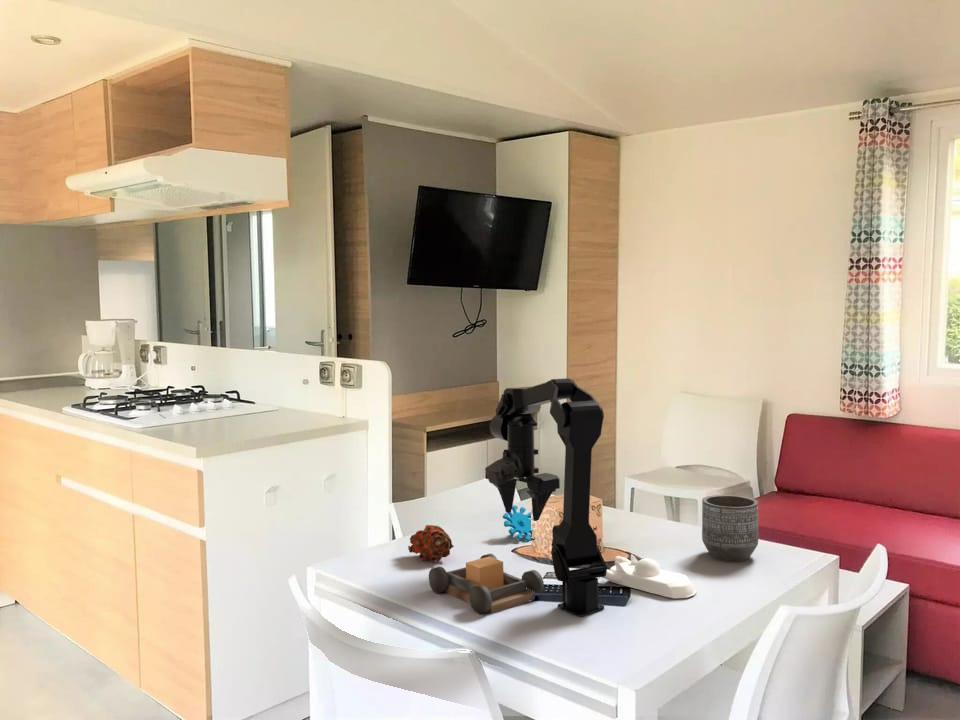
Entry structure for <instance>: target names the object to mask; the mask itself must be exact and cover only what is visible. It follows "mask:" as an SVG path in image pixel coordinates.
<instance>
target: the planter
mask: <svg viewBox="0 0 960 720" xmlns="http://www.w3.org/2000/svg"><path fill="white" fill-rule="evenodd" d="M701 501H702V505H701V506H702V510H701V513H702V516H701V519H702V521H701V522H702V523H701V524H702V526H701V527H702V528H701V539H702V542H703V544H704V546H705V549H706V550H707V551H708V553H709V554H710V556H711V557H712V558H713V559H716V560H718V561H723V562H730V563H739V562H745V561H747V560H749V559H750V557H751V556H752V554H753V553H754V552H755V550H756V548H757V546H758V544H759V501H758V500H757V499H754V498H751V497H748V496H744V495H735V494H714V495H713V494H712V495H707V496H705V497H703V498H702V500H701Z"/></svg>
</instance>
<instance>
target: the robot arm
mask: <svg viewBox="0 0 960 720" xmlns="http://www.w3.org/2000/svg"><path fill="white" fill-rule="evenodd" d="M568 399H569V400H570V401H565V402H562V403H561V402H560V400H568ZM546 404H550V408H549V414H550V416H551V418H552V419H553V420H554V422H555V423H556V426H557V427H556V429H557V434H558V436H559V438H560V439H561V441H562V442H563V444H564V447H565V452H564V456H565V457H564V482H563V484H564V485H563V506H562V507H563V511H562V513H563V514H562V520H561V522H560V524H558V525H557V524H554V525H553V527H552V529H551V530H552V531H551V536H552V538H551V540H552V541H551V545H550V546H551V549H550V555H551V559H552V560H551V561H552V565H553V570H554V571H553V572H554V576H555V577H556V580H557V581H558V582H561V583H562V591H561V592H562V593H561V594H562V602H561V603H558V604H557V608H558V609H561V610H563V611H566V612H567V613H570V614H573V615H575V616H577V617H584V616H586V615H590V614H593V613H595V612H598V611H601V610H604V609H605V605H603V604H600V603H599V578H600V577H605V576H606V572H607V569H608V566H607V564H606V562H605V560H604V558H603V555H602V552H601V551H600V550H601V549H600V547H599V546H598V537H597V534H596V533H595V531H594V529H593V527H592V526H591V524H590V508H591V507H590V505H591V504H590V503H591V502H590V500H591V481H592V480H591V479H592V453H593V448H594V447H595V445H596V443H597V442H598V440H599V439H600V437H601V435H602V430H603V423H604V417H605V416H604V415H605V413H604V410H603V408H602V407H601V404H600V403H599V402H598V401H597V400H596V397H594V396H593V394H591V392H590V393H589V392H587V391H586V390H584V389H583V388H581V387H580V386H578V384H577V383H576V382H575V381H574V380H573V379H570V378H568V377H566V378H552V379H550V380H547V381H546V382H543V383H540V384H536V385H533V386H522V387H521V386H519V387H506V388H504V391H503V393H502V394H501V395H500V399H499V402H498V405H497V406H496V409H495V415H494V416H493V417H492V419H491V420H490V423H489V431H490V434H491V435H492V436H494V437H495V438H497V439H500V440H503V441H505V442H507V449H503V452H502V458H500V459H498V460H496V461H494V462H493V463H491V464H489V465H488V466H486V467H485V468H484V470H485V479H486V480H488V482H489V483H490V484H492V485H493V486H494V487H495V488H496V489H497V491H498V492H499V494H500V498H501V500H502V504H503V506H504V509H505V510H506V511H505V510H504V511H505V513H506V512H507V514H508V513H509V512H511V513H512V511H513V510H512V507H513V505H514V499H515V493H516V488H517V481H518V482H522V483H526V485H527V488H528V490H526V493H527V494H528V495H529V496H530V497H531V506H532V507H531V508H532V512H531V513H532V514H533V517H532V520H534V521H537V520H539V519H540V517H541V515H542V513H543V511H544V509H545V507H546V504H547V502H548V501H549V499H550V497H552V496H551V495H552V494H553V493H554V492H556V491H557V490H558V489H560V487H561V486H560V485H561V480H560V477H558V475H556V474H553V473H548V472H543V473H539V471H540V470H539V468H538V467H535V456H537V455H539V449H538V448H537V449H536V448H535V428H534V427H537V426H538V422H537V420H536V419H534V417H533V414H534V413H536V412H537V411H539V410H541V408H542V405H546ZM587 565H589V566H588V567H582V566H587ZM580 566H581V567H582V568H576V569H570V568H574V567H580Z"/></svg>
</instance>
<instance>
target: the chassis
mask: <svg viewBox="0 0 960 720" xmlns="http://www.w3.org/2000/svg"><path fill="white" fill-rule="evenodd" d="M486 557H492V558H495V559H497V560H498V558H497V557H496V556H495V555H494V554H493V553H487V554H484V555H481V556H480V557H479V559H482V558H486ZM503 578H504V586H501V587H498V588H494V589H491V590H490V589H488V588H487V587H486V586H485V585H478V584H476V583H473V582H471V581H469V580H467V579H466V566H465V567H461V568H458V569H454V570H450V571H446V569H445V568H444V567H443V566H436V567H432V568H430V570H429V572H428V582H429V586H430V589H431V590H432V591H433V592H434V593H436V594H440V593H444V592H445V593H447V594H449V595H451V596H453V597H455V598H458V599H460V600H462V601H464V602H466V603H468V604H470V606H471V608H472V609H473V611H474V612H475V613H477V614H483V613H486V612H487V613H490V614H495V613H497V612H502V611H505V610H507V609H510V608H511V609H512V608H513V607H517V606H520V605H524V604H526V602H527V603H529V602H528V601H529V600H530V598H531V597H532V595H533V594H534V593H535V592H540V591H542V590H543V591H544V590H545V582H544V579H543V577H542V575H541V573H540V572H539V571H538V570H535V569H530V570H528V571H525V572H523V574H522V575H521V578H519V577H517V576H514V575H512V574H510V573H507V572H504V571H503ZM526 587H527V588H529V589H531V590H533V591H531V590H530V591H529V590H526ZM534 591H535V592H534Z"/></svg>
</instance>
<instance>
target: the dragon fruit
mask: <svg viewBox="0 0 960 720" xmlns="http://www.w3.org/2000/svg"><path fill="white" fill-rule="evenodd" d="M409 541H410V542H409V543H410V544H411V545H408V546H407V547H408V552H409V553H414V554H416V555H417V554H419V559H420V560H421V561H422V562H425V561H424V560H426V561H428V560H430V561H431V562H441V560H442V558H447V557H448V556H449V555H451V549H452V548H454V547H455V546H454V545H453V542H452V539H451V537H450V535H449V534H448V533H447V532H446V531H445V530H444V528H442V527H441V526H439V525H432V524H426V525H425V526H424V529H421V530H418V531H416V532H415V533H414V534H412V535H411V536H410V538H409Z"/></svg>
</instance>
